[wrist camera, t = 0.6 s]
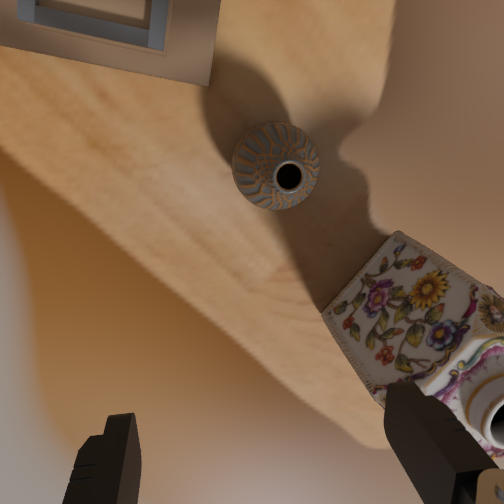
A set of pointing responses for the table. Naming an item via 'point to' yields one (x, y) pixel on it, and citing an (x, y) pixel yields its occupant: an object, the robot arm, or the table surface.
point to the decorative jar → (426, 334)
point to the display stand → (118, 34)
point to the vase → (275, 165)
